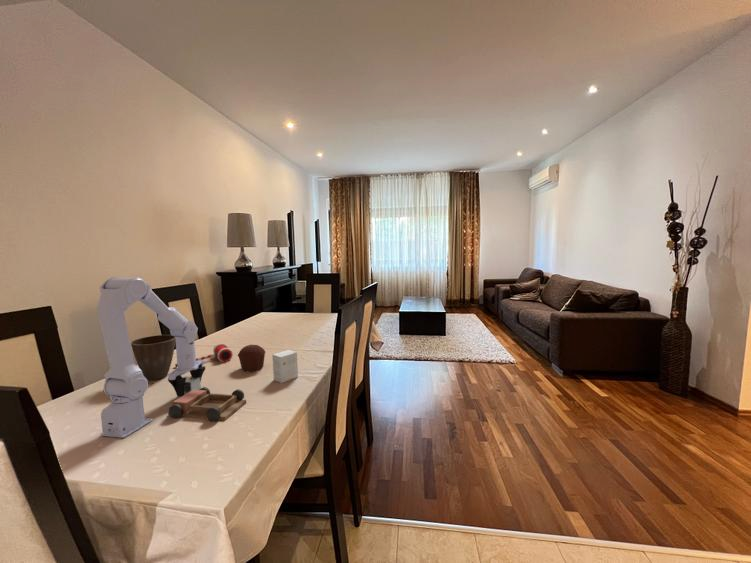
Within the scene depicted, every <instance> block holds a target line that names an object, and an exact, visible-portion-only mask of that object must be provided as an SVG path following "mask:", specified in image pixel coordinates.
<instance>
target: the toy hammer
mask: <svg viewBox="0 0 751 563" xmlns="http://www.w3.org/2000/svg"><path fill="white" fill-rule="evenodd" d="M212 351H213V353H212V354H209V355H204V356H201V357H198V358H196V361H197V360H204V361H205V360H207V359H211V358H214V357H217V359H218V360H219V362H221V363H224V362H223V361H225V362H229V361H231V359H232V358H233V355H234V354H233V351H232V350H231V349H230V348H228V346H227V345H226V344H225V343H217V344H216V345H215V346H214V347H213V350H212ZM176 367H177V363H175V368H176Z"/></svg>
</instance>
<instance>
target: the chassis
mask: <svg viewBox="0 0 751 563" xmlns="http://www.w3.org/2000/svg"><path fill="white" fill-rule="evenodd" d="M244 398H245V392H244V391H243V390H241V389H240V388H239V389H235V390H234V391H232V393H231V394H223V393H212V392H211V391H210V389H209V387H205V386H203V387H201V389H199V390H192V391H190V392H189V393H187V394H185V395H183V396H182V397H180V398H177V399H175V400H174V401H172V405H171V406H170V407H169V408H168V414H167V415H168V416H169V417H171V418H172V419H178V418H180V417H183V418H184V417H185V418H195V417H196V418H198V419H207V418H208V419H207V420H208V421H210V422H216V421H218V420H221V421H226V420H228V419H229V418H230V417H231V416H232V415H234V414H235V413H236V412H237V411H239V410H240V409H241V408H242V407H244V406H245V405H246V404H247V399H244Z"/></svg>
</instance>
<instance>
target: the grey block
mask: <svg viewBox="0 0 751 563" xmlns="http://www.w3.org/2000/svg"><path fill="white" fill-rule="evenodd" d="M182 378H186V381H185V386H184V395H185V394H187V393H189V392H190V391H192V390H199V389H201V388H202V387H201V382H200V377H191V376H184V377H183V376H182ZM176 398H177V399H178V398H180V397H178V396H177V395H176Z"/></svg>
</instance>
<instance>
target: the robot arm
mask: <svg viewBox="0 0 751 563" xmlns="http://www.w3.org/2000/svg"><path fill="white" fill-rule="evenodd" d="M99 292H100V297H99V301H98V304H97V308H96V310H97V317H98V320H99V325H100V329H101V333H102V338H103V342H104V347H105V352H106V355H107V359H108V360H107V361H108V364H109V365H108V366H109V370H107V372H105V374H104V383H103V392H104V394H106V395H107V396H109V399H110V400H111V401H110V403H108V405H107V406H106V407H105V408H103V409H102V411H101V413H100V419H101V430H102V432H100V437H111V438H120V439H123V438H124V439H125V438H127V437H128V436H130V435H131V434H133V433H134V432H136V431H137V430H139V429H141V428H142V427H145V426H146V425H148V424H149V423H151V422H152V421H153V418H147V417H146V416H145V405H144V396H145V393H146V392H147V390H148V388H149V387H148V386H149V381H148V380H147V379H146V378H145V377H144V376H143V373H142V370H141V369H140V368H139V366H138V365H137V364H136V363H135V360H134V353H133V349H132V345H131V341H130V335H129V331H128V327H127V321H126V317H125V312H126V310H128V308H130V307H132V306H133V305H134V304H135V303H137V302H138V301H139V302H141V304H143V305H144V306H146V307H147V308H148V309H150V310H151V311H153V312H154V313H156V314H157V320H158V321H159V322H160V323H162V324H163V325H164V326H165V327H166V328H167V329H169V333H170V335H172V336H174V337H175V352H176V364H177V367H178V368H176V367H175V369H174V370H173V371H171V372H169V373H168V375H167V382H168V383H170V385H171V386H172V387H173V389H174V392H175V394H176V397H177V396H178V397H182V396H183V395H184V386H185V381H186V378H183V375H184V374H186V373H188V372H189V373H190V377H200V383H202V382H201V381H202V378H203V377H202V376H203V375H204V372H205V370H206V366H204V365H205V359H204V360H197V361H196V359H197V358H196V344H195V343H196V342H195V341H196V338H197V337H196V336H197V333H198V329H199V327H197V325H196V323H195V322H193V321H189V320H188V319H187V317H186V316H184V315H182V314H181V313H180V312H179V309H178V308H177V307H173V306H169V307H168V305H166V304H165V302H164V301H162V300H161V299H160V297H159V296H158V295H157V294H155V292H154V291H153V290H152V289H151V284H149V283H147V282H146V281H145V280H144V279H143V278H141V277H117V276H116V277H110V278H108V279H106V280H105V281H104V282H103V283H102V285H100V286H99Z"/></svg>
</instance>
